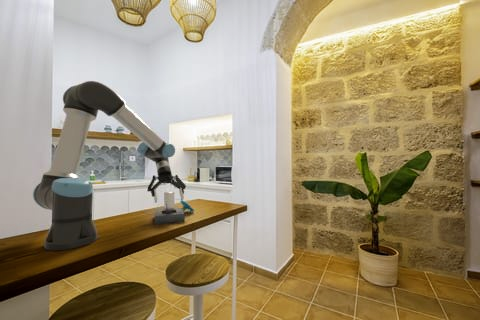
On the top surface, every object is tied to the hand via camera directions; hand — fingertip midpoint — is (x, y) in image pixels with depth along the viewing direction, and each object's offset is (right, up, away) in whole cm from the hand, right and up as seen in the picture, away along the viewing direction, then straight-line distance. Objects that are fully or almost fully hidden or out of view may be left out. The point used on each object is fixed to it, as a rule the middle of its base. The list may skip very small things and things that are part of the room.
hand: (169, 199), depth 108 cm
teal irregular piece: (+5, -10, +14) cm, 18 cm away
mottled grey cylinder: (0, -10, -1) cm, 10 cm away
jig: (0, -10, -1) cm, 10 cm away
